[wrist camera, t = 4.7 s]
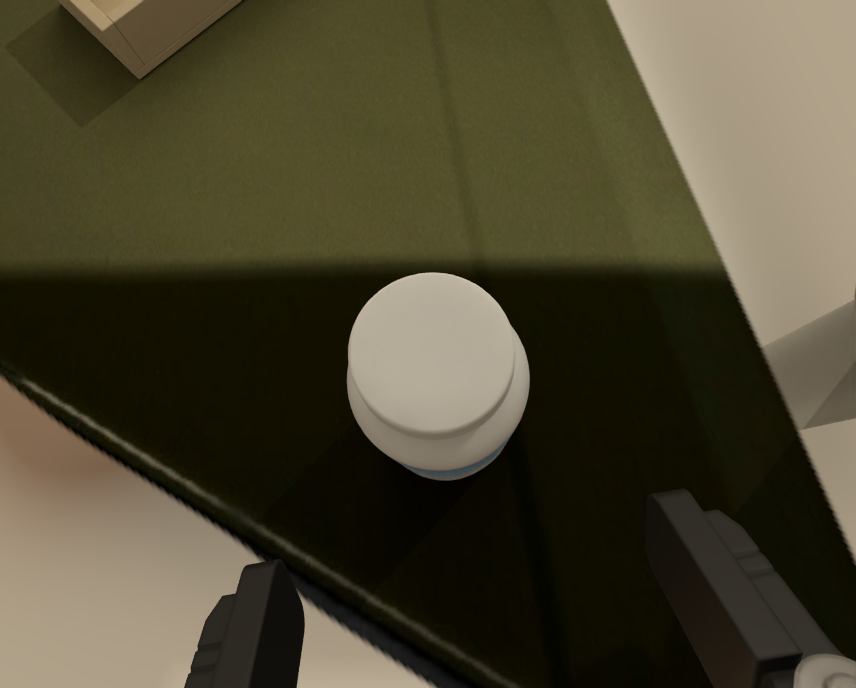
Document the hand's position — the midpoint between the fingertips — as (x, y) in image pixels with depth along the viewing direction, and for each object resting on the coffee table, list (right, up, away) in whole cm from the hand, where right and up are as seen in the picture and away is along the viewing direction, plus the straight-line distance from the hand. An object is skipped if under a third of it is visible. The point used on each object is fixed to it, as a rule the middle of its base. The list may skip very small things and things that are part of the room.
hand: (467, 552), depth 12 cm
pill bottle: (0, +1, +14) cm, 14 cm away
